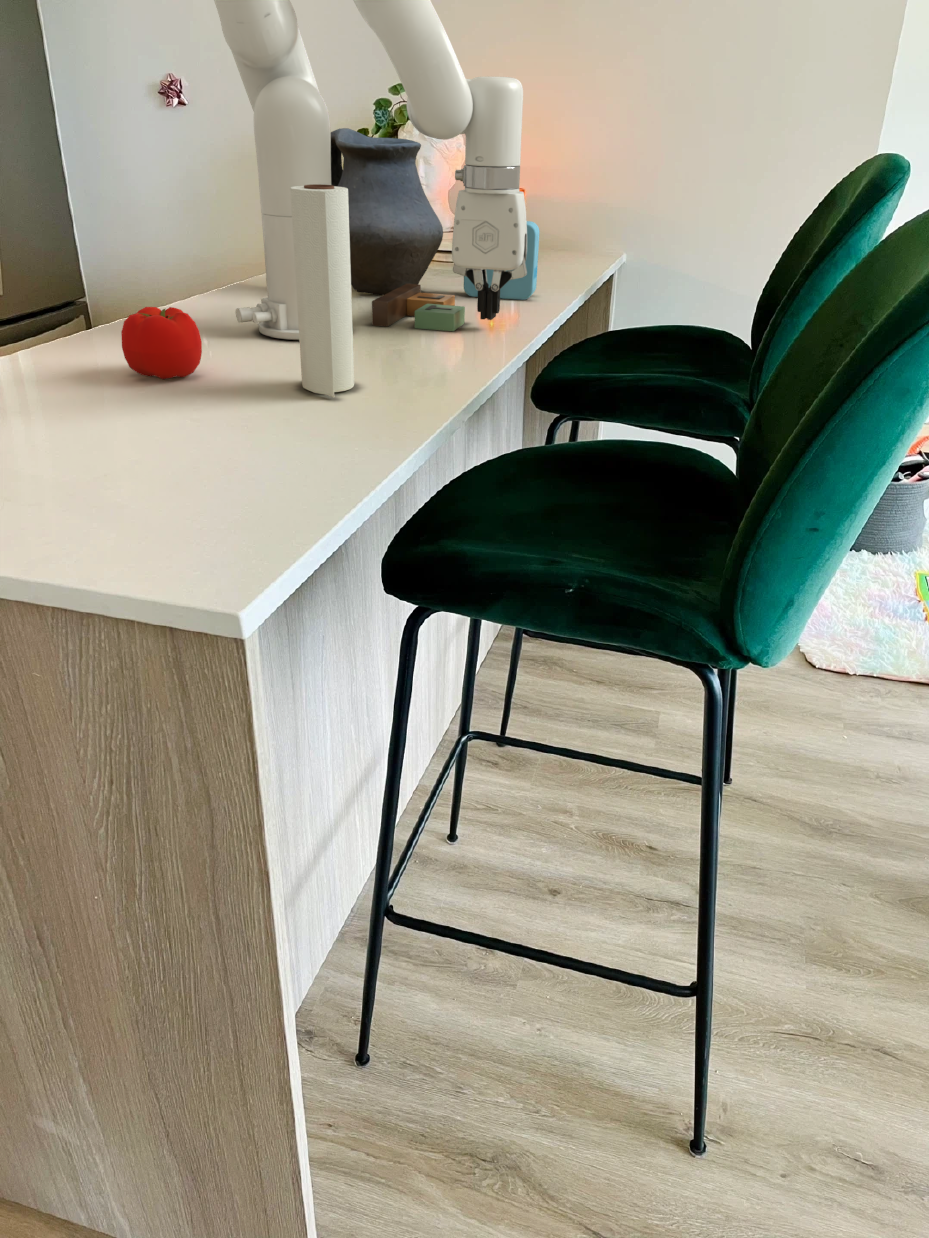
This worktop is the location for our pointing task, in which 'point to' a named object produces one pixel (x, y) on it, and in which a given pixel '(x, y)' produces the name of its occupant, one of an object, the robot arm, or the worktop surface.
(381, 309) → the walnut ledge
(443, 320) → the sage letter tile
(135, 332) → the tomato
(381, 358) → the worktop surface
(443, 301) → the oak letter tile
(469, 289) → the blue rounded slab
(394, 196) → the pitcher
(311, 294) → the paper towel roll
